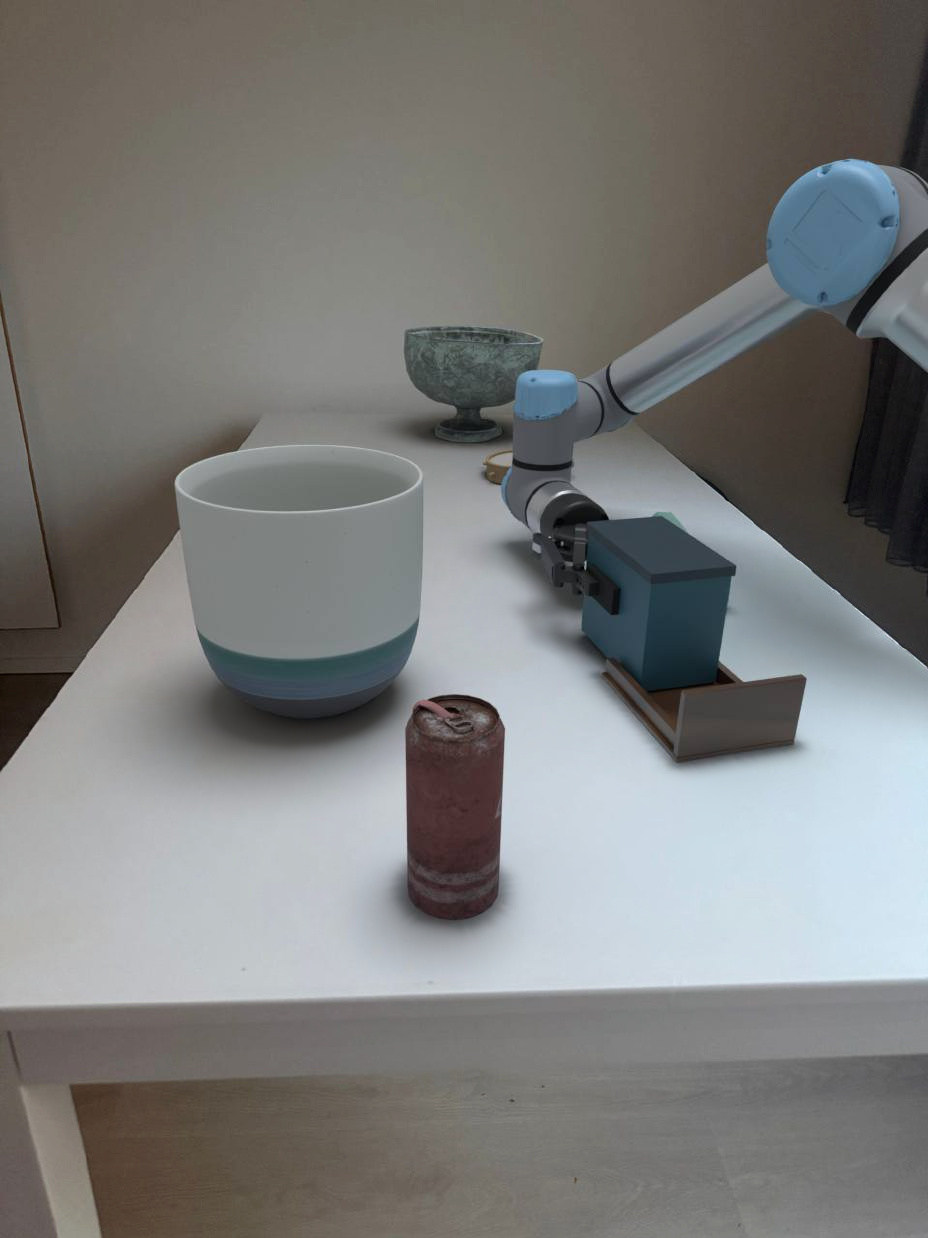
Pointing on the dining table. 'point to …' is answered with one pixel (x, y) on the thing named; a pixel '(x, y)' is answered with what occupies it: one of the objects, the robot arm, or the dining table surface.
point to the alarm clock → (500, 465)
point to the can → (454, 805)
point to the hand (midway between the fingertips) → (657, 597)
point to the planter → (304, 572)
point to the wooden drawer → (714, 712)
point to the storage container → (658, 601)
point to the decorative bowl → (469, 372)
